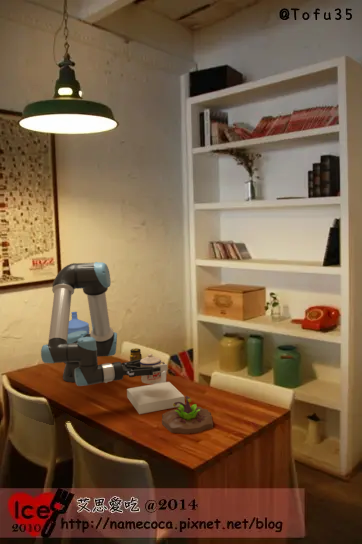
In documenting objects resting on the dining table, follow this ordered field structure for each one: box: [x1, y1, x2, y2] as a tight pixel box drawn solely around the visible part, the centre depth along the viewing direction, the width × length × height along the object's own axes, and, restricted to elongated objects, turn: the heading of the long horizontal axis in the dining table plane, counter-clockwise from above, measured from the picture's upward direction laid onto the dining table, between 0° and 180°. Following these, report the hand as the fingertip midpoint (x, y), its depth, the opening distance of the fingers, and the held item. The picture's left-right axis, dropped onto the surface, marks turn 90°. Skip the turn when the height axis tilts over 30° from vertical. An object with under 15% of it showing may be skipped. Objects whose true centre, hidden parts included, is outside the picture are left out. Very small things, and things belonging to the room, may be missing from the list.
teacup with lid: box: [140, 353, 166, 385], centre depth 206 cm, size 12×9×12 cm
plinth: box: [126, 381, 186, 415], centre depth 208 cm, size 20×20×4 cm
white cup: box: [153, 371, 167, 384], centre depth 227 cm, size 7×7×7 cm
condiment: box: [129, 347, 143, 362], centre depth 248 cm, size 7×8×12 cm
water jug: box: [64, 311, 90, 364], centre depth 271 cm, size 16×16×28 cm
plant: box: [161, 395, 214, 435], centre depth 185 cm, size 20×20×11 cm
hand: (163, 364), depth 207 cm, fingers closed on teacup with lid, 9 cm apart
